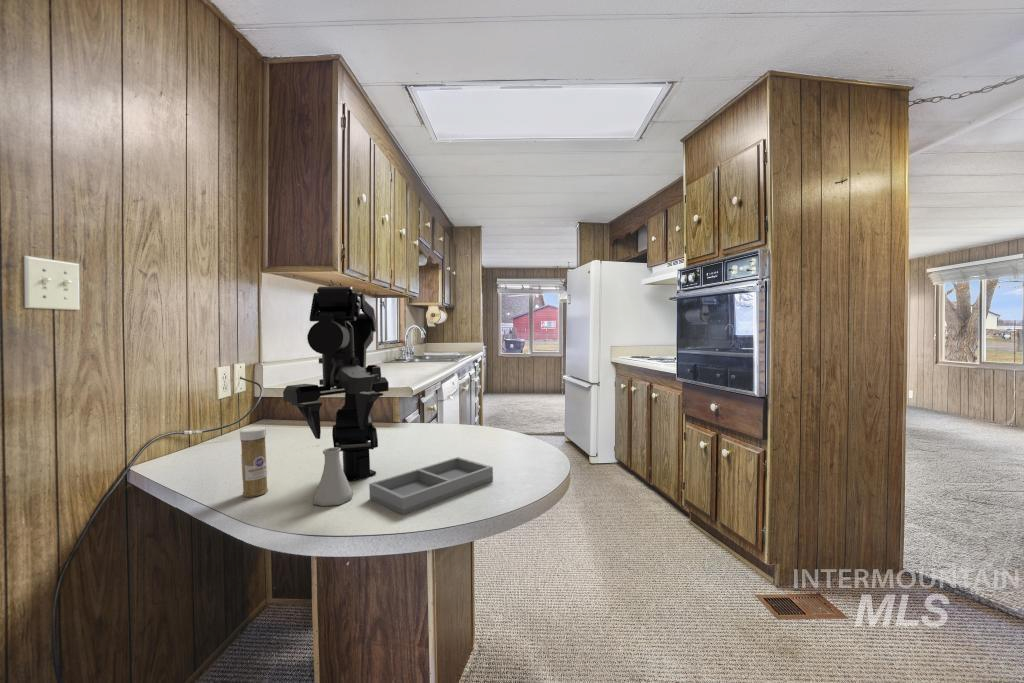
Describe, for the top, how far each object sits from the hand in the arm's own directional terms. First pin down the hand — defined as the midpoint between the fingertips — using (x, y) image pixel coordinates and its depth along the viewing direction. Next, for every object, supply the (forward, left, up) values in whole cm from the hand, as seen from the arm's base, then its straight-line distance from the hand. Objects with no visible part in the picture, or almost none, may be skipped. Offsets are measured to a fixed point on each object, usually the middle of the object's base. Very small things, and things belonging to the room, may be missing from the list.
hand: (341, 433), depth 84 cm
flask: (-3, -1, -14) cm, 14 cm away
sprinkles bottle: (-19, -10, -14) cm, 25 cm away
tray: (+8, +15, -13) cm, 22 cm away
